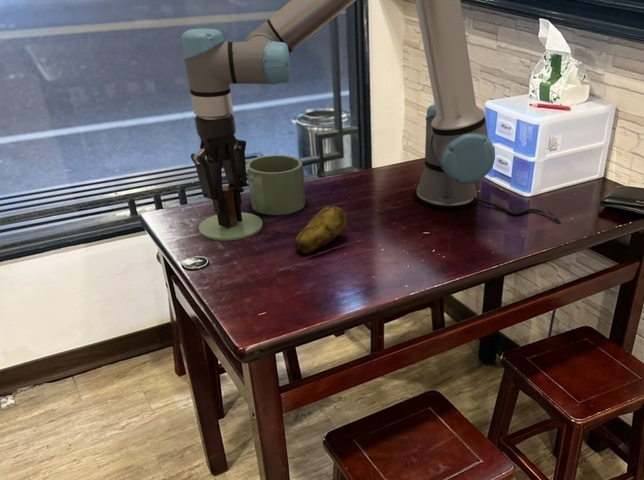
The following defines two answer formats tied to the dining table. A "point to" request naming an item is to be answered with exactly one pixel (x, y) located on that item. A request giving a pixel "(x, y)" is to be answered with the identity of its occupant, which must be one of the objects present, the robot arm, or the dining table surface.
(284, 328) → the dining table surface
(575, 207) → the dining table surface
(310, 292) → the dining table surface
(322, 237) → the potato
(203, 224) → the lid
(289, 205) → the pot
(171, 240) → the dining table surface
